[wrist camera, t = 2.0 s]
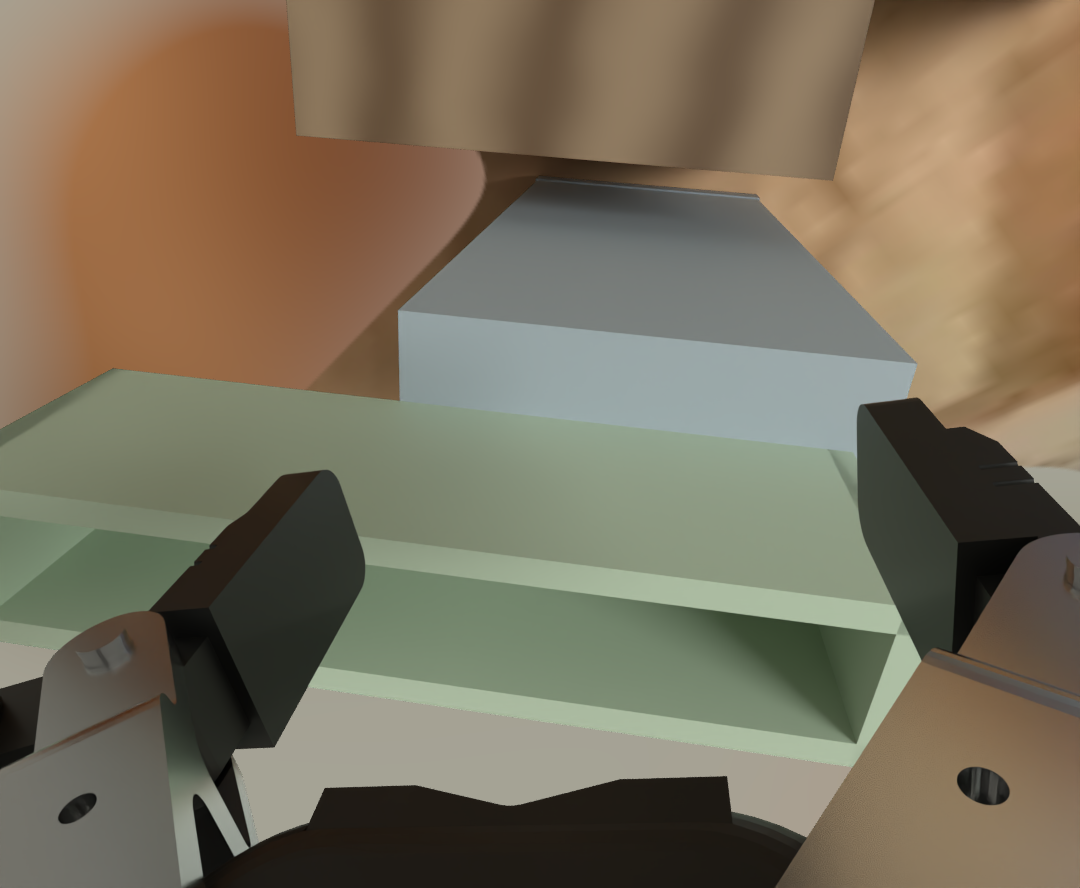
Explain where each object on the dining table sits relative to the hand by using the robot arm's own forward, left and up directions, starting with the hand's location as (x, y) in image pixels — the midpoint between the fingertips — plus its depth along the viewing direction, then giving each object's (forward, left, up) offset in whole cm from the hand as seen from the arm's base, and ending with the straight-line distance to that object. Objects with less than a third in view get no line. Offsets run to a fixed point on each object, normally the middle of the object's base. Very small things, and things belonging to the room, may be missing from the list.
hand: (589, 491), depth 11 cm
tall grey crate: (+5, -3, -42) cm, 42 cm away
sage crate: (+2, -7, -10) cm, 12 cm away
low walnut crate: (-8, +2, -42) cm, 42 cm away
